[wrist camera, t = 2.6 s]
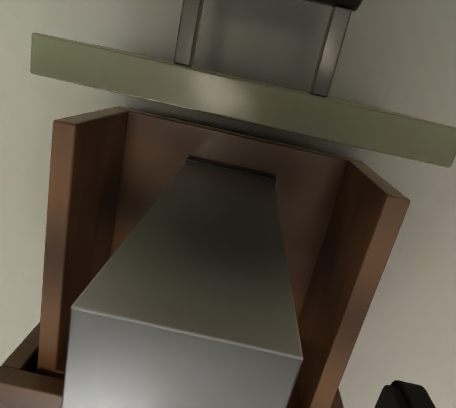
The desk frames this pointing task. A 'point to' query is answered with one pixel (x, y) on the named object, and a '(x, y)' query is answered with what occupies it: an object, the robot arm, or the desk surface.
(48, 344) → the drawer
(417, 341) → the desk surface
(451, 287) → the desk surface
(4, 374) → the cabinet
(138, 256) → the brushed metal pillar
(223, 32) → the desk surface
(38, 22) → the desk surface
